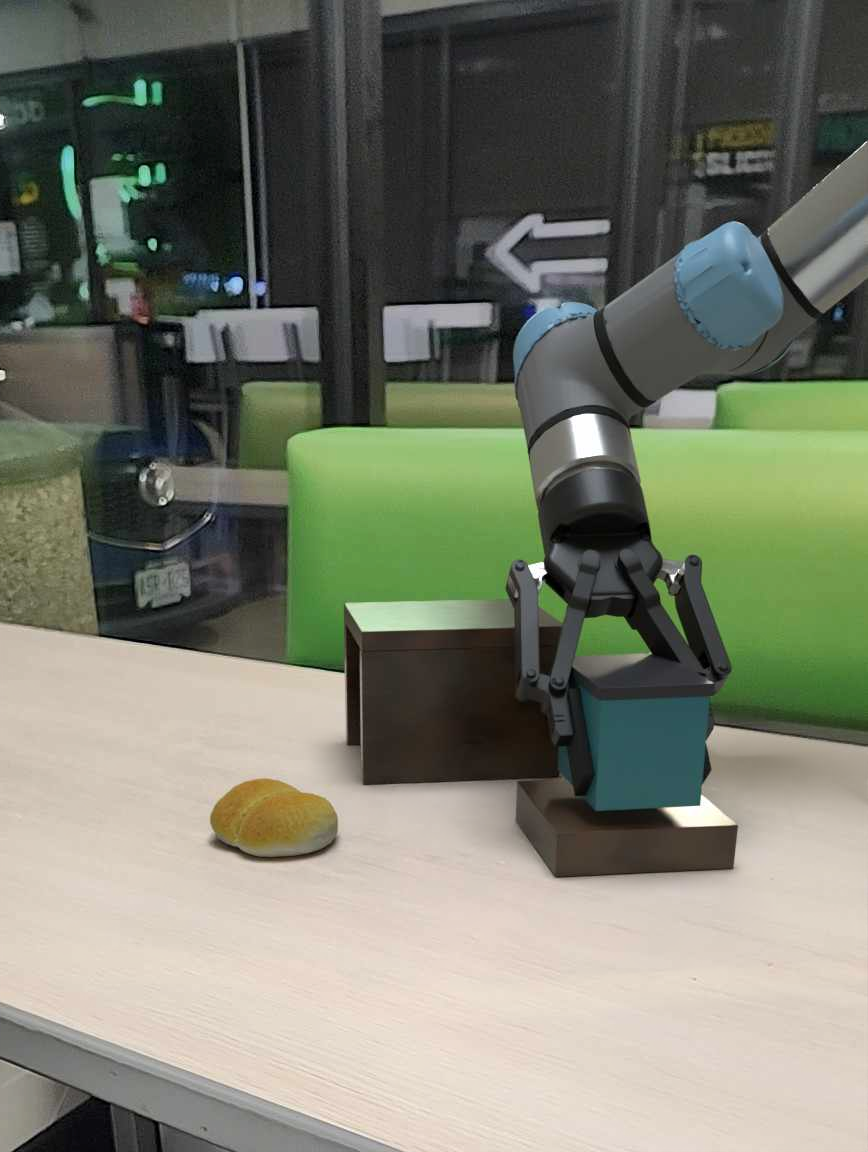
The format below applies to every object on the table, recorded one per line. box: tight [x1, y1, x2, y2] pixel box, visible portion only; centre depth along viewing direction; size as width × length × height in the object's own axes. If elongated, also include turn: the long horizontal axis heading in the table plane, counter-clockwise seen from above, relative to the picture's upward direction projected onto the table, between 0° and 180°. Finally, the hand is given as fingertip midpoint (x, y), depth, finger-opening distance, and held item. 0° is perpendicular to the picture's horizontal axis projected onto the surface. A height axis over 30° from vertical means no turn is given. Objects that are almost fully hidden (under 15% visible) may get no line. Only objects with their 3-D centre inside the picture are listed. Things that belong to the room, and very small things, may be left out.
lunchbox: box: [558, 652, 715, 811], centre depth 89 cm, size 7×10×8 cm
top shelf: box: [343, 598, 563, 785], centre depth 110 cm, size 16×14×12 cm
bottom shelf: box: [515, 778, 739, 878], centre depth 91 cm, size 12×12×3 cm
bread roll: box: [209, 778, 339, 858], centre depth 92 cm, size 8×9×4 cm
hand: (642, 782), depth 86 cm, fingers closed on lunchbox, 7 cm apart
